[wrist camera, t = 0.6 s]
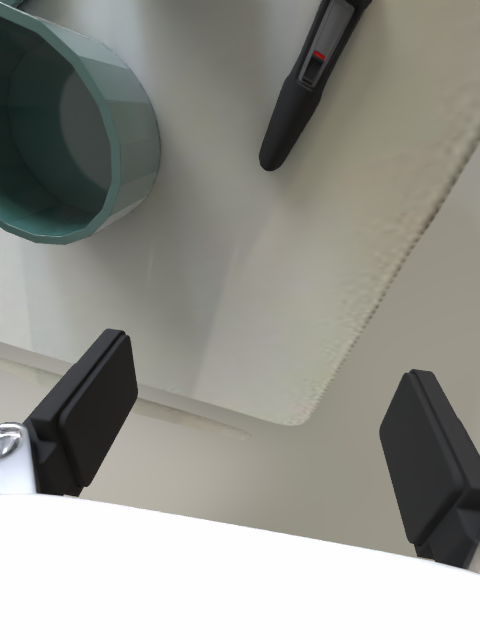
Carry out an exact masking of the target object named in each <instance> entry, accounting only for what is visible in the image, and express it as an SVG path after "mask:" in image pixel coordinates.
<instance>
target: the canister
mask: <svg viewBox="0 0 480 640" xmlns="http://www.w3.org/2000/svg"><path fill="white" fill-rule="evenodd" d="M159 163H160V136H159V130H158V124H157V121H156V117H155V113H154V111H153V108H152V105H151V103H150V100H149V98H148V96H147V94H146V92H145V90H144V88H143V87H142V85H141V83H140V82H139V80H138V79H137V77H136V76H135V74H134V73H133V72H132V71H131V69H130V68H129V67H128V66H127V65H126V64H125V63H124V62H123V61H122V60H121V59H120V58H119V57H118V56H117V55H116V54H115V53H114V52H112V51H111V50H110V49H109V48H108V47H107V46H106V45H104V44H103V43H101V42H98V41H96V40H94V39H92V38H90V37H87V36H85V35H83V34H81V33H79V32H76V31H74V30H72V29H69V28H67V27H64V26H61V25H59V24H56V23H54V22H51V21H49V20H46V19H43V18H41V17H38V16H36V15H33V14H30V13H28V12H25V11H23V10H20V9H18V8H15V7H12V6H10V5H7V4H5V3H2V2H0V227H1V228H2V229H3V230H5V231H7V232H9V233H12V234H15V235H17V236H20V237H22V238H25V239H27V240H30V241H32V242H35V243H44V244H61V245H66V244H69V243H72V242H75V241H78V240H81V239H83V238H86V237H89V236H91V235H93V234H95V233H96V232H98V231H100V230H101V229H103V228H105V227H106V226H108V225H110V224H111V223H113V222H115V221H116V220H118V219H120V218H121V217H123V216H125V215H126V214H128V213H130V212H131V211H132V210H133V209H134V208H135V207H136V206H138V205H139V204H140V203H141V202H142V201H143V200H144V199H145V197H146V196H147V195H148V194H149V192H150V190H151V188H152V186H153V184H154V182H155V179H156V176H157V173H158V168H159Z"/></svg>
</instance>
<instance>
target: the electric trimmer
mask: <svg viewBox="0 0 480 640" xmlns="http://www.w3.org/2000/svg"><path fill="white" fill-rule="evenodd" d="M371 2H372V0H322V1H321V4H320V6H319V9H318V11H317V14H316V16H315V19H314V21H313V24H312V26H311V29H310V31H309V34H308V36H307V38H306V41H305V43H304V46H303V48H302V50H301V53H300V55H299V57H298V59H297V61H296V63H295V65H294V67H293V69H292V71H291V73H290V74H289V76H288V77H287V78H286V80H285V82H284V84H283V86H282V89H281V92H280V94H279V97H278V100H277V103H276V106H275V109H274V111H273V114H272V117H271V120H270V123H269V126H268V128H267V131H266V134H265V137H264V140H263V143H262V146H261V149H260V153H259V160H260V165H261V167H262V168H263V169H265V170H266V171H274V170H275V169H277V168H279V167H280V166H281V165H282V163H283V162H284V161H285V159H286V157H287V156H288V154H289V152H290V151H291V149H292V147H293V146H294V144H295V143H296V141H297V139H298V138H299V136H300V134H301V133H302V131H303V129H304V128H305V126H306V124H307V123H308V121H309V120H310V118H311V116H312V115H313V113H314V111H315V109H316V107H317V106H318V104H319V102H320V100H321V96H322V92H323V89H324V87H325V84H326V82H327V80H328V78H329V76H330V74H331V72H332V70H333V68H334V66H335V64H336V62H337V60H338V58H339V56H340V54H341V52H342V50H343V48H344V47H345V45H346V43H347V41H348V39H349V37H350V36H351V34H352V32H353V30H354V28H355V26H356V24H357V23H358V21H359V19H360V17H361V15H362V13H363V12H364V10H365V9H366V8H367V6H368V5H369V4H370V3H371Z"/></svg>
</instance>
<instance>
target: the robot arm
mask: <svg viewBox="0 0 480 640" xmlns="http://www.w3.org/2000/svg"><path fill="white" fill-rule="evenodd" d="M137 395H138V388H137V381H136V375H135V368H134V361H133V354H132V347H131V341H130V337H129V336H128V335H126V334H125V332H124V331H122V330H114V329H106V330H105V331H104V332H103V333H102V334H101V335H100V336H99V338H98V339H97V340H96V341H95V342H94V343H93V345H92V346H91V347H90V348H89V349H88V350H87V351H86V353H85V354H84V355H83V356H82V357H81V358H80V360H79V361H78V362H77V363H76V364H74V365H73V366H72V367H71V368H70V369H69V370H68V372H67V373H66V374H65V375H64V376H63V377H62V378H61V380H60V381H59V382H58V383H57V384H56V385H55V387H54V388H53V389H52V390H51V391H50V392H49V394H48V395H47V396H46V397H45V398H44V399H43V400H42V402H41V403H40V404H39V405H38V406H37V407H36V408H35V410H34V411H33V412H32V413H31V414H30V415H29V417H28V418H27V419H26V420H25V421H24V422H23V423H22V424H20V423H16V422H6V423H1V424H0V640H480V455H479V454H478V452H477V450H476V448H475V446H474V444H473V442H472V441H471V439H470V437H469V435H468V433H467V431H466V430H465V428H464V426H463V424H462V422H461V421H460V420H459V419H458V418H457V416H456V414H455V412H454V410H453V408H452V407H451V405H450V403H449V401H448V399H447V397H446V396H445V394H444V392H443V390H442V388H441V386H440V385H439V383H438V381H437V379H436V377H435V375H434V374H433V373H432V372H431V371H423V370H415V369H412V370H411V371H410V372H409V373H405V374H404V375H403V377H402V379H401V381H400V383H399V386H398V388H397V390H396V392H395V395H394V397H393V399H392V401H391V404H390V406H389V408H388V410H387V413H386V415H385V417H384V419H383V421H382V424H381V426H380V431H379V433H380V440H381V443H382V447H383V450H384V454H385V458H386V461H387V466H388V469H389V473H390V477H391V480H392V484H393V487H394V492H395V495H396V499H397V503H398V506H399V510H400V513H401V517H402V521H403V524H404V528H405V532H406V536H407V539H408V541H409V542H410V543H413V544H414V546H415V550H416V553H417V556H418V557H422V558H428V559H433V560H435V562H433V561H427V560H423V559H418V558H412V557H407V556H402V555H397V554H392V553H387V552H383V551H377V550H372V549H366V548H360V547H355V546H350V545H344V544H339V543H333V542H328V541H322V540H316V539H311V538H306V537H300V536H294V535H289V534H284V533H278V532H272V531H266V530H261V529H256V528H250V527H244V526H239V525H233V524H227V523H221V522H216V521H210V520H204V519H199V518H193V517H187V516H181V515H175V514H169V513H164V512H158V511H152V510H146V509H140V508H135V507H129V506H123V505H117V504H111V503H105V502H98V501H91V500H85V499H78V498H71V497H64V496H63V495H64V494H65V495H70V496H76V497H79V495H80V493H81V491H82V489H83V488H84V487H88V486H89V485H90V484H91V482H92V480H93V478H94V477H95V475H96V473H97V471H98V469H99V467H100V466H101V463H102V462H103V460H104V458H105V456H106V454H107V453H108V451H109V449H110V447H111V445H112V444H113V442H114V440H115V438H116V436H117V434H118V433H119V431H120V429H121V427H122V425H123V423H124V422H125V420H126V418H127V416H128V414H129V412H130V410H131V409H132V407H133V405H134V403H135V401H136V399H137Z"/></svg>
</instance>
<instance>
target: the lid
mask: <svg viewBox="0 0 480 640" xmlns="http://www.w3.org/2000/svg"><path fill="white" fill-rule="evenodd" d="M0 2H2V3H5V4H7V5H10V6H12V7H15V8H16V7H17V6H18V5H19V4H21V3H22V2H23V0H0Z"/></svg>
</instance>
